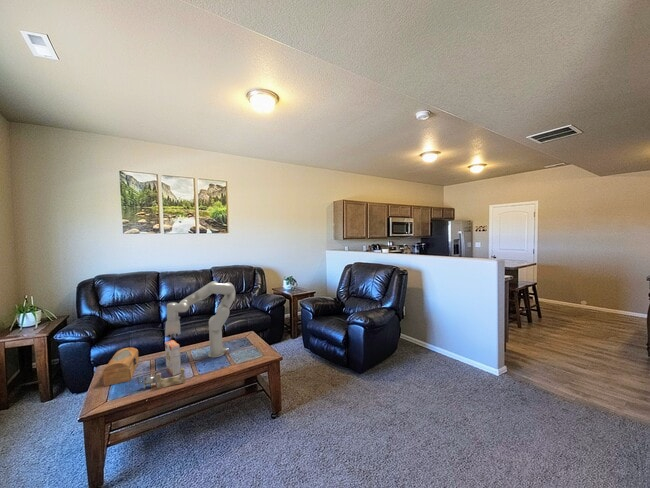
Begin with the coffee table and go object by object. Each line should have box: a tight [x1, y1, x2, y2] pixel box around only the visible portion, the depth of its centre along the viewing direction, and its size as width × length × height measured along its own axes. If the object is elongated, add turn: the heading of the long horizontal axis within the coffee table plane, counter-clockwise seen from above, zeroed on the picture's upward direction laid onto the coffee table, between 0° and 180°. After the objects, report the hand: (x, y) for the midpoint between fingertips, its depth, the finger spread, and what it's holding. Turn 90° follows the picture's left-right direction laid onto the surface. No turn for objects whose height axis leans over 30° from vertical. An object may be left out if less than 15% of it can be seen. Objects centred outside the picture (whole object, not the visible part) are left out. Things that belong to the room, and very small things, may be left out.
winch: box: [136, 373, 158, 390], centre depth 179 cm, size 11×4×8 cm, turn 115°
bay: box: [156, 367, 186, 390], centre depth 185 cm, size 16×10×9 cm, turn 115°
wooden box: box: [102, 347, 139, 387], centre depth 198 cm, size 30×16×14 cm, turn 24°
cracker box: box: [164, 339, 182, 377], centre depth 199 cm, size 14×6×21 cm, turn 46°
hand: (173, 342), depth 213 cm, fingers closed
